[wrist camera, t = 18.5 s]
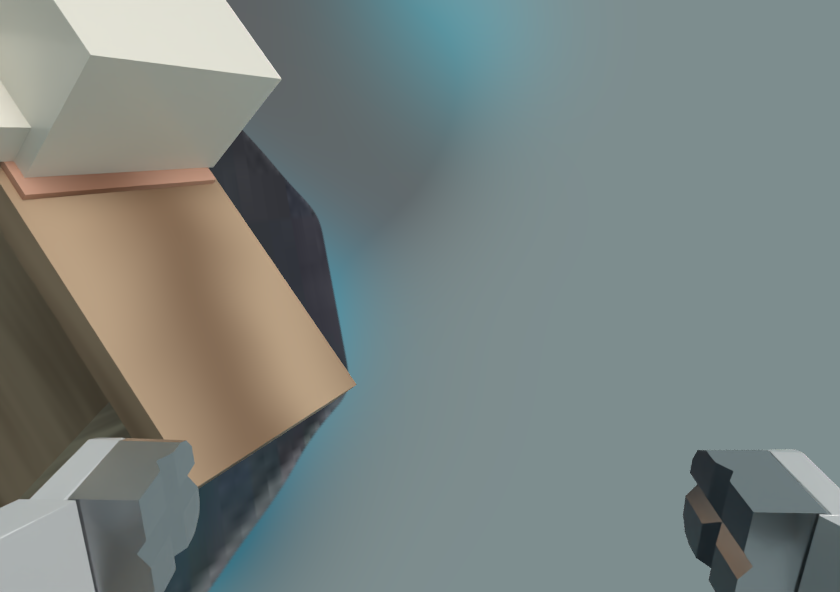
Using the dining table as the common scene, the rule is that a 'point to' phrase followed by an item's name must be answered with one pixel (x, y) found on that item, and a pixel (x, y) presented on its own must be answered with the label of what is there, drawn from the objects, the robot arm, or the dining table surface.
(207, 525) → the dining table surface
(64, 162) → the white block with handle
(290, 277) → the dining table surface
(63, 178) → the wooden post with base
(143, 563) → the robot arm
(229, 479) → the dining table surface
